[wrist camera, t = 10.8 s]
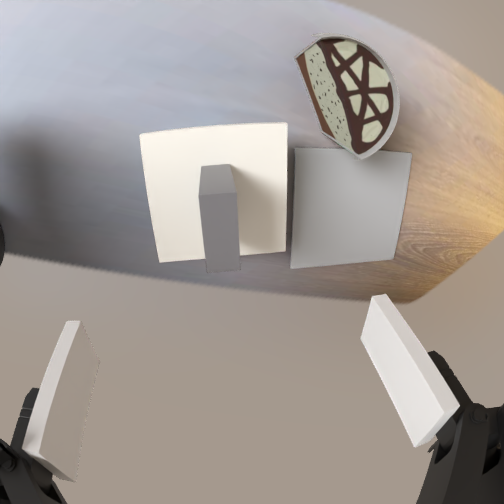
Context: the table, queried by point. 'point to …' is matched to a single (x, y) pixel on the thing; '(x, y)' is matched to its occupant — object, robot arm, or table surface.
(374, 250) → the mat
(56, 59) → the table surface
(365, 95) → the food container
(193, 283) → the table surface
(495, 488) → the robot arm
